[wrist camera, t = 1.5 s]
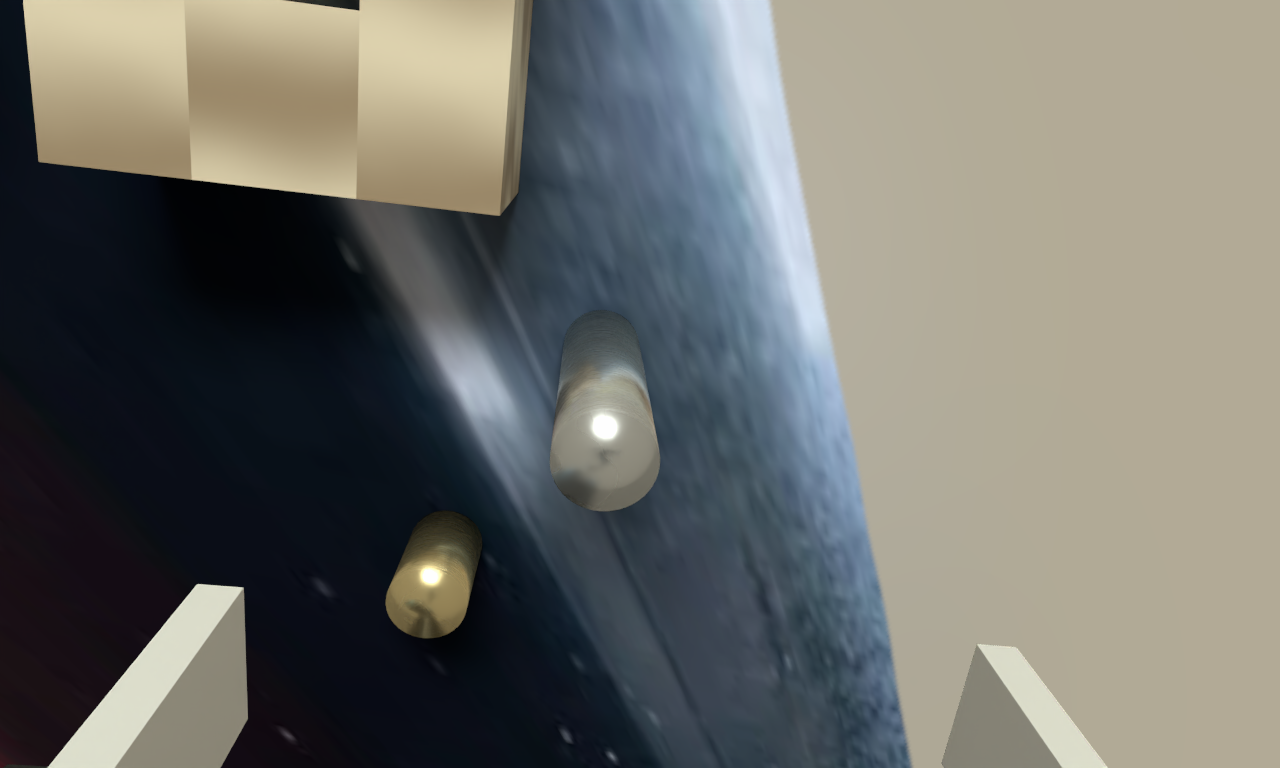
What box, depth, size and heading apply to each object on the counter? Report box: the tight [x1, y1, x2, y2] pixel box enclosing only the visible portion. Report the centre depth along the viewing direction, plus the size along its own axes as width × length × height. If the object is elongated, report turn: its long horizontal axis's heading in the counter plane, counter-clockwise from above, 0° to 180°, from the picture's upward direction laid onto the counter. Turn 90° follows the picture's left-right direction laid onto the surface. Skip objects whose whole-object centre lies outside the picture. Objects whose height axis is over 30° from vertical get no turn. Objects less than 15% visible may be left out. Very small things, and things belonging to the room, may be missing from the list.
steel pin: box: [550, 310, 660, 511], centre depth 30 cm, size 3×3×12 cm
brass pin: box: [386, 511, 482, 638], centre depth 36 cm, size 3×3×5 cm
